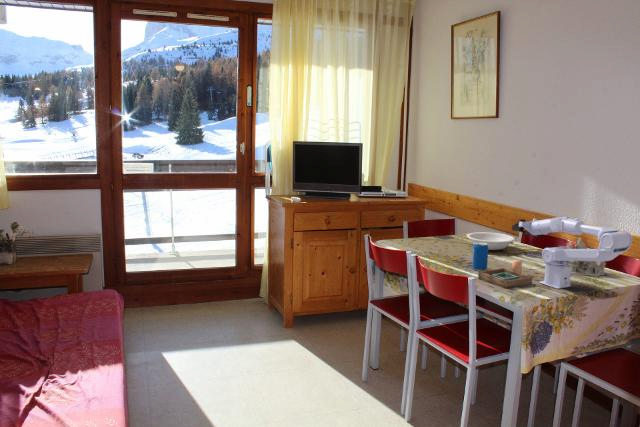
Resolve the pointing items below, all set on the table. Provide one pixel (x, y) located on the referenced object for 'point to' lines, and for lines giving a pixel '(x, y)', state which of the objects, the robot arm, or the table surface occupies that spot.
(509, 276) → the walled tray
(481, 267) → the beverage can
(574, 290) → the table surface
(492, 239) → the soup bowl
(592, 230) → the robot arm
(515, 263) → the terracotta peg
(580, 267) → the ceramic cottage
